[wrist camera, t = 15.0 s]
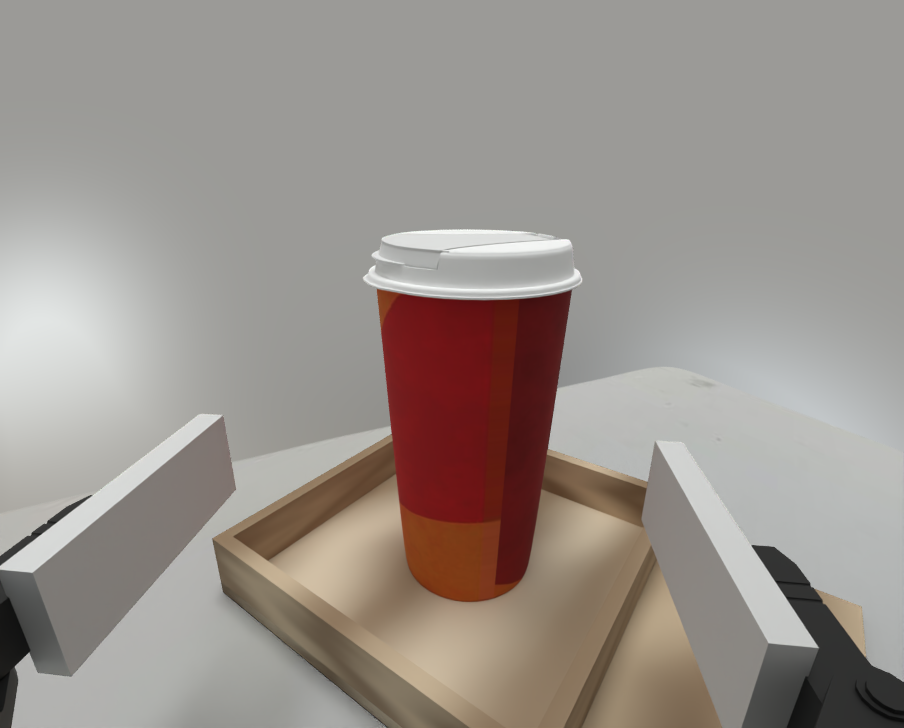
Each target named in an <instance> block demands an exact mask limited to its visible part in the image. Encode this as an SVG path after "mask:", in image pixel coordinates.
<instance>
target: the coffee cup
mask: <svg viewBox="0 0 904 728" xmlns="http://www.w3.org/2000/svg"><path fill="white" fill-rule="evenodd" d="M536 234H537V233H530V232H519V231H502V230H431V231H415V232H405V233H397V234H393V235H389V236H385V237H383V238H382V242H381V246H380V249H379V251H376V252H374V253H373V254H372V258H373V259H374V260H376V265H375V266H373V267H371V268H370V269H369V273H368V274H367V275H365V276H364V277H363V280H364V282H365V283H366V284H368V285H369V286H371V287H374V288H376V289H377V295H378V305H379V315H380V324H381V334H382V343H383V352H384V363H385V373H386V381H387V392H388V402H389V411H390V421H391V431H392V440H393V450H394V459H395V468H396V478H397V487H398V496H399V505H400V514H401V523H402V531H403V538H404V546H405V552H406V558H407V563H408V566H409V569H410V571H411V573H412V575H413V576H414V578H415V579H416V580H417V581H418V582H419V583H420V584H421V585H422V586H423V587H424V588H426V589H427V590H428V591H430V592H432V593H434V594H436V595H438V596H440V597H443V598H446V599H450V600H455V601H462V602H478V601H485V600H489V599H493V598H496V597H499V596H501V595H503V594H505V593H507V592H508V591H510V590H511V589H513V588H514V587H515V586H516V585H517V584H518V583H519V582H520V581H521V579H522V578H523V576H524V574H525V572H526V570H527V567H528V563H529V559H530V554H531V549H532V543H533V538H534V532H535V526H536V520H537V514H538V508H539V501H540V495H541V489H542V483H543V476H544V470H545V463H546V457H547V450H548V444H549V437H550V431H551V424H552V418H553V411H554V404H555V398H556V391H557V385H558V378H559V371H560V364H561V358H562V352H563V345H564V338H565V332H566V324H567V319H568V312H569V305H570V298H571V292H572V290H573V289H575V288H577V287H578V286H580V285H581V283H582V277H581V275H580V272H579V271H578V270H576V269H575V268H574V257H573V247H572V244H571V242H570V241H569V240H568V239H559V238H557V237H554V236H549V235H544V234H538V235H536Z"/></svg>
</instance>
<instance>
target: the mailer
mask: <svg viewBox="0 0 904 728" xmlns="http://www.w3.org/2000/svg"><path fill="white" fill-rule="evenodd" d="M647 484H648V482H646V481H643V480H640V479H637V478H634V477H631V476H628V475H625V474H622V473H619V472H616V471H613V470H610V469H607V468H604V467H601V466H598V465H595V464H592V463H589V462H586V461H583V460H580V459H577V458H574V457H571V456H568V455H565V454H562V453H559V452H556V451H552V450H549V449H548V450H547V457H546V463H545V470H544V476H543V483H542V489H541V495H540V501H539V508H538V514H537V520H536V526H535V532H534V538H533V543H532V549H531V554H530V559H529V563H528V567H527V570H526V572H525V574H524V576H523V578H522V579H521V581H520V582H519V583H518V584H517V585H516V586H515V587H514V588H513V589H511V590H510V591H508V592H507V593H505V594H503V595H501V596H499V597H496V598H493V599H489V600H485V601H478V602H462V601H455V600H450V599H446V598H443V597H440V596H438V595H436V594H434V593H432V592H430V591H428V590H427V589H426V588H424V587H423V586H422V585H421V584H420V583H419V582H418V581H417V580H416V579H415V578H414V576H413V575H412V573H411V571H410V569H409V566H408V563H407V558H406V552H405V546H404V538H403V531H402V523H401V514H400V505H399V496H398V487H397V478H396V468H395V459H394V450H393V440H392V434H391V435H389V436H387V437H386V438H384V439H382V440H381V441H379V442H377V443H375V444H374V445H372V446H370V447H369V448H367V449H365V450H363V451H362V452H360V453H358V454H357V455H355V456H353V457H351V458H350V459H348V460H346V461H345V462H343V463H341V464H339V465H338V466H336V467H334V468H333V469H331V470H329V471H327V472H326V473H324V474H322V475H321V476H319V477H317V478H315V479H314V480H312V481H310V482H308V483H307V484H305V485H303V486H302V487H300V488H298V489H296V490H295V491H293V492H291V493H290V494H288V495H286V496H284V497H283V498H281V499H279V500H278V501H276V502H274V503H272V504H271V505H269V506H267V507H266V508H264V509H262V510H260V511H259V512H257V513H255V514H254V515H252V516H250V517H248V518H247V519H245V520H243V521H242V522H240V523H238V524H236V525H235V526H233V527H231V528H229V529H228V530H226V531H224V532H223V533H221V534H219V535H217V536H216V537H214V538H212V540H213V545H214V550H215V554H216V559H217V564H218V569H219V574H220V579H221V584H222V589H223V592H224V593H225V594H226V595H228V596H229V597H230V598H231V599H232V600H234V601H235V602H236V603H237V604H239V605H240V606H241V607H242V608H243V609H245V610H246V611H247V612H248V613H249V614H251V615H252V616H253V617H254V618H256V619H257V620H258V621H259V622H260V623H262V624H263V625H264V626H265V627H266V628H268V629H269V630H270V631H271V632H273V633H274V634H275V635H276V636H277V637H279V638H280V639H281V640H282V641H283V642H285V643H286V644H287V645H288V646H290V647H291V648H292V649H293V650H294V651H296V652H297V653H298V654H299V655H301V656H302V657H303V658H304V659H305V660H307V661H308V662H309V663H310V664H311V665H313V666H314V667H315V668H316V669H318V670H319V671H320V672H321V673H322V674H324V675H325V676H326V677H327V678H328V679H330V680H331V681H332V682H333V683H335V684H336V685H337V686H338V687H339V688H341V689H342V690H343V691H344V692H345V693H347V694H348V695H349V696H350V697H352V698H353V699H354V700H355V701H356V702H358V703H359V704H360V705H361V706H362V707H364V708H365V709H366V710H367V711H369V712H370V713H371V714H372V715H373V716H375V717H376V718H377V719H378V720H379V721H381V722H382V723H383V724H384V725H386V726H387V727H388V728H722V725H721V723H720V720H719V717H718V715H717V712H716V710H715V707H714V705H713V702H712V699H711V697H710V694H709V692H708V689H707V687H706V684H705V682H704V679H703V676H702V674H701V671H700V669H699V666H698V664H697V661H696V658H695V656H694V653H693V651H692V648H691V646H690V643H689V640H688V638H687V635H686V633H685V630H684V628H683V625H682V623H681V620H680V617H679V615H678V612H677V610H676V607H675V605H674V602H673V599H672V597H671V594H670V592H669V589H668V587H667V584H666V581H665V579H664V576H663V574H662V571H661V569H660V566H659V563H658V561H657V558H656V556H655V553H654V551H653V548H652V546H651V543H650V540H649V538H648V535H647V533H646V530H645V528H644V525H643V522H642V520H641V518H642V513H643V507H644V501H645V496H646V490H647ZM815 590H816V589H815ZM816 592H817V593H818V594H819V596H820V597H821V598H822V600H823V604H826V605H827V607H828V608H829V609H830V611H831V612H832V613H833V615H834V616H835V617H836V619H837V620H838V621H839V623H840V624H841V625H842V627H843V628H844V629H845V631H846V632H847V633H848V635H849V636H850V637H851V639H852V640H853V641H854V643H855V644H856V645H857V647H858V648H859V649H860V651H861V652H862V653H863V655H864V656H865V657H866V651H865V639H864V628H863V616H862V607H861V606H858V605H856V604H853V603H851V602H848V601H845V600H843V599H840V598H837V597H835V596H832V595H829V594H827V593H824V592H821V591H819V590H816Z"/></svg>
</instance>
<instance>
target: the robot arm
mask: <svg viewBox="0 0 904 728" xmlns="http://www.w3.org/2000/svg"><path fill="white" fill-rule="evenodd" d="M235 490H236V486H235V481H234V475H233V469H232V463H231V458H230V452H229V447H228V441H227V435H226V429H225V424H224V418H223V415H212V414H199V415H198V416H197V417H195V418H194V419H193V420H191V421H190V422H189V423H187V424H186V425H185V426H184V427H182V428H181V429H180V430H178V431H177V432H176V433H174V434H173V435H172V436H170V437H169V438H168V439H166V440H165V441H164V442H162V443H161V444H160V445H158V446H157V447H156V448H154V449H153V450H152V451H150V452H149V453H148V454H147V455H145V456H144V457H143V458H141V459H140V460H139V461H137V462H136V463H135V464H133V465H132V466H131V467H129V468H128V469H127V470H126V471H124V472H123V473H122V474H120V475H119V476H118V477H117V478H115V479H114V480H112V481H111V482H110V483H108V484H107V485H106V486H105V487H103V488H102V489H101V490H99V491H98V492H97V493H95V494H94V495H90V496H88V497H86V498H84V499H82V500H80V501H78V502H76V503H74V504H71V505H69V506H67V507H66V508H64V509H63V510H62V511H60V512H59V513H58V514H56V515H55V516H54V517H52V518H51V519H50V520H48V521H47V524H43V525H42V526H40V527H39V528H37V529H36V530H35V531H33V532H32V535H31V536H27V537H25V538H24V539H23V540H21V541H20V542H19V543H17V544H16V545H15V546H13V547H12V548H11V549H9V550H8V551H6V552H5V553H4V554H2V555H1V556H0V728H11V725H12V718H13V712H14V705H15V699H16V692H17V686H18V676H17V672H16V670H15V666H16V665H17V664H18V663H19V662H20V661H21V660H22V659H23V658H24V657H25V656H26V655H27V654H28V653H29V652H30V655H31V657H32V660H33V662H34V665H35V667H36V670H37V672H38V673H45V674H53V675H62V676H70V677H71V676H72V675H73V674H74V673H75V672H76V671H77V670H78V668H79V667H80V666H81V665H82V664H83V663H84V662H85V661H86V659H87V658H88V657H89V656H90V655H91V654H92V653H93V651H94V650H95V649H96V648H97V647H98V646H99V645H100V643H101V642H102V641H103V640H104V639H105V638H106V637H107V635H108V634H109V633H110V632H111V631H112V630H113V629H114V628H115V626H116V625H117V624H118V623H119V622H120V621H121V620H122V618H123V617H124V616H125V615H126V614H127V613H128V612H129V610H130V609H131V608H132V607H133V606H134V605H135V604H136V602H137V601H138V600H139V599H140V598H141V597H142V596H143V595H144V593H145V592H146V591H147V590H148V589H149V588H150V587H151V585H152V584H153V583H154V582H155V581H156V580H157V579H158V577H159V576H160V575H161V574H162V573H163V572H164V571H165V569H166V568H167V567H168V566H169V565H170V564H171V563H172V562H173V560H174V559H175V558H176V557H177V556H178V555H179V554H180V552H181V551H182V550H183V549H184V548H185V547H186V546H187V544H188V543H189V542H190V541H191V540H192V539H193V538H194V537H195V535H196V534H197V533H198V532H199V531H200V530H201V529H202V527H203V526H204V525H205V524H206V523H207V522H208V521H209V519H210V518H211V517H212V516H213V515H214V514H215V513H216V511H217V510H218V509H219V508H220V507H221V506H222V505H223V504H224V502H225V501H226V500H227V499H228V498H229V497H230V496H231V494H232V493H233V492H234V491H235ZM641 520H642V522H643V525H644V528H645V530H646V533H647V535H648V538H649V540H650V543H651V546H652V548H653V551H654V553H655V556H656V558H657V561H658V563H659V566H660V569H661V571H662V574H663V576H664V579H665V581H666V584H667V587H668V589H669V592H670V594H671V597H672V599H673V602H674V605H675V607H676V610H677V612H678V615H679V617H680V620H681V623H682V625H683V628H684V630H685V633H686V635H687V638H688V640H689V643H690V646H691V648H692V651H693V653H694V656H695V658H696V661H697V664H698V666H699V669H700V671H701V674H702V676H703V679H704V682H705V684H706V687H707V689H708V692H709V694H710V697H711V699H712V702H713V705H714V707H715V710H716V712H717V715H718V717H719V720H720V723H721V725H722V728H904V682H902V681H901V680H899V679H898V678H896V677H895V676H893V675H892V674H890V673H887V672H885V671H883V670H880V669H878V668H876V667H873V666H871V664H870V663H869V661H868V660H867V659H866V657H865V656H864V655H863V653H862V652H861V651H860V649H859V648H858V647H857V645H856V644H855V643H854V641H853V640H852V639H851V637H850V636H849V635H848V633H847V632H846V631H845V629H844V628H843V627H842V625H841V624H840V623H839V621H838V620H837V619H836V617H835V616H834V615H833V613H832V612H831V611H830V609H829V608H828V607H827V605H826V604H823V600H822V598H821V597H820V596H819V594H818V593H817V592H816V590H815V589H814V588H812V587H811V586H810V582H809V581H808V580H807V578H806V577H805V576H804V574H803V573H802V572H801V570H800V569H799V568H798V566H797V565H796V564H795V563H794V562H792V561H791V560H790V559H789V558H787V557H786V556H785V555H784V554H782V553H781V552H780V551H779V550H777V549H776V548H775V547H769V546H756V545H750V543H749V542H748V540H747V539H746V537H745V536H744V534H743V532H742V531H741V529H740V528H739V526H738V525H737V523H736V522H735V520H734V519H733V517H732V516H731V514H730V513H729V511H728V510H727V508H726V507H725V505H724V504H723V502H722V501H721V499H720V498H719V496H718V495H717V493H716V492H715V490H714V489H713V487H712V486H711V484H710V483H709V481H708V480H707V478H706V477H705V475H704V474H703V472H702V471H701V469H700V467H699V466H698V464H697V463H696V461H695V460H694V458H693V457H692V455H691V454H690V452H689V451H688V449H687V448H686V446H685V445H684V443H683V442H670V441H655V444H654V450H653V456H652V461H651V467H650V473H649V478H648V484H647V490H646V496H645V501H644V507H643V513H642V518H641Z"/></svg>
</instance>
